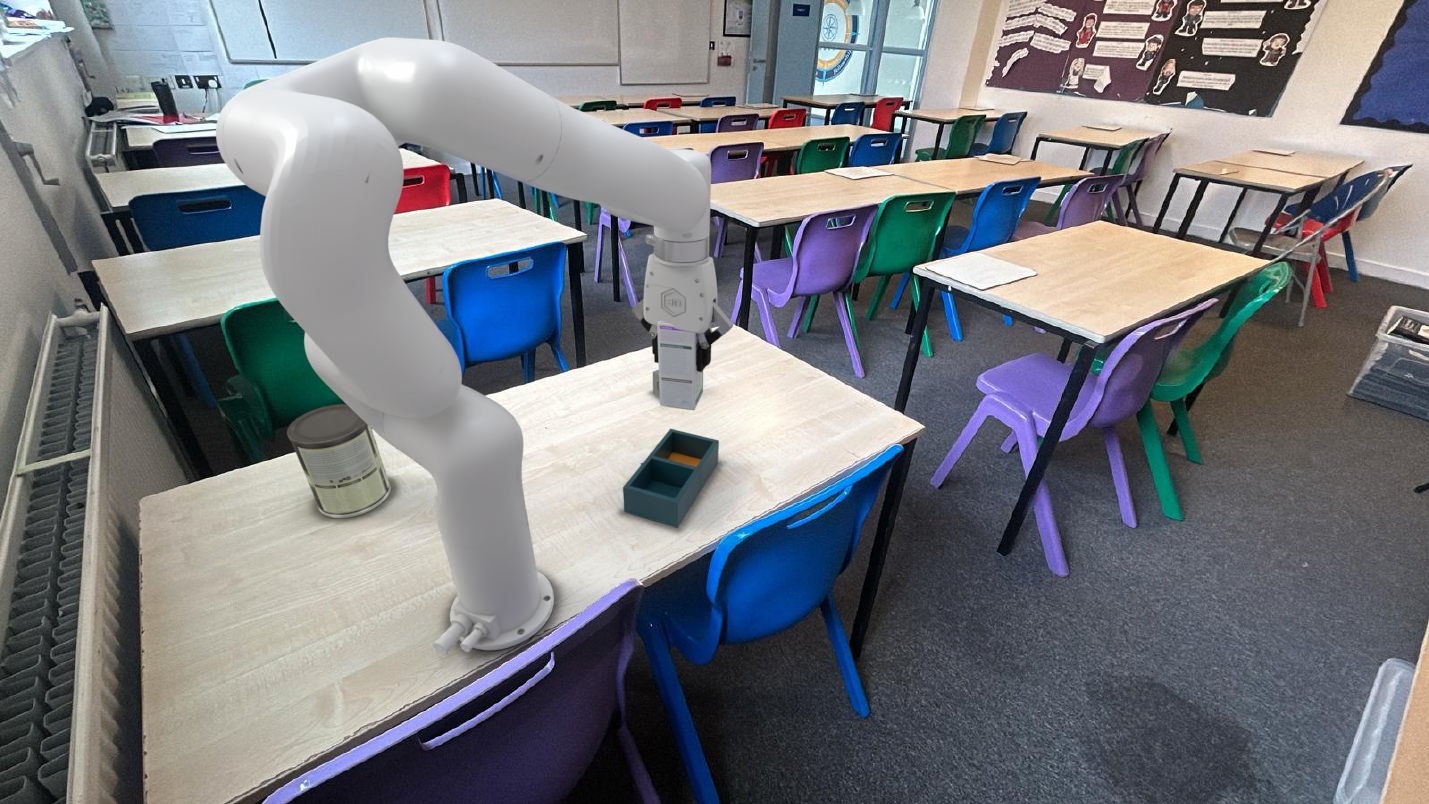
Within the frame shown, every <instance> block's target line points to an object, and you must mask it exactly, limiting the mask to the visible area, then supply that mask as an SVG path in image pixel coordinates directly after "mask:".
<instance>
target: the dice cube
mask: <svg viewBox="0 0 1429 804" xmlns="http://www.w3.org/2000/svg"><path fill="white" fill-rule="evenodd" d="M652 394H654V395H655V396H657V397H659V398H660V390H659V369H656V370H654V371H652Z"/></svg>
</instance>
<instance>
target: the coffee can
mask: <svg viewBox="0 0 1429 804" xmlns="http://www.w3.org/2000/svg"><path fill="white" fill-rule="evenodd" d="M286 435H287V438H288V440H289V441H290V442H291V444H292V447H293V449H294V452H295V454H296V457H297V459H298V461H299V463H300V466H301V468H302V470H303V473H304V476H305V478H306V480H307V482H308V485H309V488H310V490H311V493H312V495H313V497H314V499H315V502H316V504H317V509H318V511H319V512H320V513H321V514H322V515H324V516H325V517H329V518H331V519H347V518H354V517H357V516H360V515H361V516H362V515H364V514H366V513H368V512H370V511H373V510H374V509H376V508H378V507H379V506H380V505H382V504H383V503H384V502H385V501H386V500H387V499H388V497H389V496H390V494H391V490H392V486H391V483H390V481H389V478H388V475H387V471H386V469H385V465H384V462H383V459H382V457H381V453H380V450H379V447H378V444H377V440H376V437H375V435H374V430H373V429H372V428H371V427H370V426H369V425H368V424H367V423H366V422H365V421H363V420H362V419H361V418H360V417H359V416H358V415H357V414H356V413H355V412H354V411H353V410H352V409H351V408H350V407H349V406H348V405H347V404H346V403H339V404H338V403H337V404H332V405H326V406H322V407H319V408H315V409H313V410H310V411H308V412H306V413H303V414H302V415H300V416H299V417H297V418H296V419H294V420H293V421H292V422H291V423H290V424H289V426H288V428H287V430H286Z"/></svg>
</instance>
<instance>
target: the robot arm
mask: <svg viewBox="0 0 1429 804" xmlns="http://www.w3.org/2000/svg"><path fill="white" fill-rule="evenodd" d="M215 138H216V139H215V140H216V146H217V148H218V151H219V154H220V156H221V158H222V160H223V162H224V163H225V165H226V166H227V168H228V170H229V171H231V173H232V174H233V175H234V176H235V177H236V178H237V179H238V180H239V181H240V182H242V183H243V184H244V185H245V186H246V187H248V188H249V189H251V190H253V191H254V192H257V193H258V194H260V195H262V196H264V197H265V200H264V203H263V207H262V212H261V222H260V230H259V231H260V234H259V252H260V253H259V254H260V262H261V267H262V271H263V274H264V277H265V279H266V281H267V283H268V285H269V287H270V289H271V291H272V293H273V294H274V296H275V298H276V299H277V300H278V302H279V303H280V304H281V306H282V307H283V308H284V309H285V311H286V312H287V313H288V315H290V317H291V318H292V319H293V320H294V321H295V322H296V323H297V325H298V326H299V327H301V329H302V331H304V340H303V344H304V345H303V347H304V352H305V355H306V358H307V361H308V363H309V364H310V366H311V368H312V369H313V371H314V372H315V373H316V375H317V376H318V377H319V378H320V379H321V381H323V383H325V385H326V386H328V387H329V389H330V390H332V391H333V392H334V394H336V395H337V396H338V397H339V398H340V399H341V401H343V403H344V404H347V405H348V406H349V407H350V408H351V409H352V410H353V411H354V412H355V413H356V414H357V415H358V416H359V417H360V418H361V419H362V420H363V421H365V422H366V423H367V424H368V425H369V426H370V427H371V428H372V431H373V432H375V433H376V434H377V435H378V436H379V437H380V438H381V439H383V440H384V441H385V442H386V443H388V444H389V445H390V446H392V447H394V448H395V449H396V450H398V451H400V453H402V454H404V455H406V457H407V458H408V457H409V459H411V460H412V461H413V462H415V463H416V464H417V465H419V466H421V467H422V468H423V469H424V470H426V471H427V473H429V474H430V475H431V476H432V479H433V480H434V482H435V485H436V495H435V498H434V506H433V507H434V514H435V519H436V523H437V527H438V531H439V534H440V538H441V541H442V545H443V548H444V551H445V555H446V558H447V563H448V567H449V570H450V574H451V577H452V580H453V585H454V588H455V591H456V594H457V595H456V596H455V598H454V600H453V602H452V605H451V607H450V613H449V620H450V621H449V622H450V626H449V627H448V628H447V630H446V631H444V632H443V633H442V634H441V635H440V636H439V637H438V638H437V639H436V641H434V642H433V644H432V647H433V648H434V650H435V651H436V652H437V653H438V654H440V655H441V656H446V655H448V654H449V652H450V651H451V650H452V649H453V648H454V647H455V645H456V644H457V643H458V641H459V642H461V643H460V644H459V647H460V649H461V650H462V651H463V652H465V653H471V651H472V650H473V649H476V650H482V651H497V650H498V651H499V650H503V649H507V648H511V647H514V646H516V645H520V644H521V643H523V642H525V641H527V640H528V639H530V638H532V637H533V636H534V635H535V634H537V633H538V632H539V631H540V630H541V629H542V628H543V627H544V625H545V624H546V623H547V621H548V620H549V618H550V617H551V615H552V612H553V609H554V605H555V596H554V589H553V586H552V584H551V581H549V579H548V578H547V577H546V576H545V575H544V574H542V572H540V571H538V570H537V564H536V559H535V558H536V557H535V551H534V546H533V540H532V535H531V529H530V521H529V517H528V512H527V511H528V510H527V506H526V500H525V494H524V487H523V486H524V485H523V468H522V467H523V456H524V435H523V430H522V428H521V426H520V424H519V422H518V421H517V419H516V418H515V417H514V415H513V414H512V413H511V412H510V411H508V409H507V408H506V407H504V406H503V405H502V404H500V403H499V402H497V401H495V400H493V399H492V398H490V397H488V396H487V395H484V394H483V393H481V392H479V391H477V390H475V389H474V388H471V387H469V386H466V385H465V384H463V383H462V382H463V374H462V367H461V363H460V359H459V357H458V355H457V352H456V351H455V349H454V347H453V346H452V344H451V343H450V341H449V340H448V338H447V337H446V335H444V334H443V332H442V330H440V329H439V327H438V326H437V324H436V323H435V322H434V320H433V319H432V318H431V317H430V315H429V314H428V312H427V311H426V309H424V307H423V306H422V304H421V303H420V302H419V301H418V299H417V298H416V297H415V295H414V294H413V293H412V291H411V290H410V289H409V287H408V285H407V283H406V282H405V281H404V279H403V277H402V276H401V274H400V272H398V269H397V268H396V266H395V264H394V262H393V260H392V257H391V254H390V253H391V252H390V249H389V237H390V230H391V225H392V222H393V219H394V215H395V213H396V210H397V207H398V204H399V201H400V197H401V194H402V191H403V185H404V177H405V175H404V173H405V171H404V163H403V158H402V153H401V150H400V148H399V147H400V146H402V145H404V144H411V145H415V146H421V147H425V148H429V149H433V150H436V151H440V152H442V153H445V154H448V155H450V156H453V157H456V158H458V159H461V160H463V161H466V162H468V163H471V164H473V165H477V166H479V167H481V168H484V169H487V170H490V171H492V172H495V173H498V174H501V175H503V176H505V177H508V178H510V179H513V180H516V181H518V182H520V183H523V184H526V185H528V186H530V187H533V188H535V189H537V190H540V191H544V192H547V193H552V194H554V195H557V196H560V197H564V198H567V199H571V200H574V201H575V200H576V201H582V202H586V203H592V204H595V205H596V204H597V205H599V206H600V207H601V208H602V209H603V210H604V211H605V212H606V213H609V215H612V216H614V217H617V218H620V219H623V220H627V221H630V222H636V223H639V224H645V225H649V226H653V233H652V234H651V233H649V234H646V235H645V244H646V245H650V246H652V252H653V253H651V254H649V255H648V258H647V262H646V263H647V264H646V268H645V269H646V270H645V276H644V284H643V286H644V288H643V298H642V299H641V300H640V301H639V302H637V304H635V305H634V306H633V307H632V308H631V311H632V313H633V314H634V316H635V317H636V318H637V319H638V320H639V321H640V324H641V325H642V327H643V328H644V329H645V330H646V332H648V337H649V338H650V339H651V345H652V346H651V350H652V355H653V361H654V363H656V364H659V362H658V328H657V322H658V321H668V323H670V324H672V325H674V328H675V329H679V330H683V331H687V332H692V333H696V334H697V338H698V340H699V343H700V346H699V347H698V348H697V371H698V372H702V371H703V372H704V369H705V368H706V367H708V366H709V365H710V364H711V362H712V361H711V360H712V345H713V344H714V343H716V342H717V341H718V340H719V339H720V338H722V337H723V336H724V335H726V334H727V333H729V331H731V329H732V328H733V327H734V323H733V322H732V320H731V319H730V318H729V317H728V315H726V314H725V312H724V311H723V309H721V307H720V306H719V305H718V304H719V302H718V299H719V298H718V296H719V295H718V282H717V275H716V267H715V263H714V262H715V261H714V259H713V257H712V256H710V232H711V231H710V229H711V228H710V227H711V225H710V224H711V196H712V195H711V192H712V190H711V189H712V163H711V162H712V161H711V159H710V158H709V156H708V154H706V153H704V152H702V151H699V150H695V149H688V148H687V149H685V148H672V149H667V148H665V147H663V146H661V145H660V144H657V143H655V142H653V141H651V140H648V139H646V138H644V137H642V136H639V135H637V134H634V133H631V132H629V131H627V130H626V129H625V130H624V129H622V128H620V127H617V126H615V125H614V124H611V123H609V122H607V121H605V120H603V119H601V118H598V117H596V116H594V115H592V114H590V113H587V112H584V111H581V110H579V109H576V108H574V107H572V106H570V105H569V104H566V103H565V102H563V101H561V100H559V99H557V98H555V97H553V96H552V95H550V94H549V93H547V92H545V91H543V90H541V89H539V88H537V87H536V86H534V85H532V84H531V83H529V82H527V81H525V80H524V79H522V78H520V77H518V76H517V75H515V74H513V73H511V72H510V71H508V70H507V69H505V68H503V67H501V66H499V65H498V64H496V63H493V62H492V61H491V60H488V59H487V58H485V57H483V56H481V55H480V54H478V53H476V52H474V51H472V50H470V49H469V48H466V47H464V46H462V45H459V44H456V43H453V42H449V41H445V40H440V39H430V38H409V37H393V36H392V37H381V38H378V39H373V40H370V41H367V42H363V43H361V44H359V45H356V46H352V47H351V48H348V49H345V50H343V51H339V52H337V53H335V54H332V55H330V56H327V57H324V58H322V59H319V60H317V61H314V62H312V63H309V64H307V65H303V66H301V67H299V68H295V69H294V70H291V71H287V72H285V73H283V74H279V75H277V76H274V77H271V78H269V79H266V80H263V81H261V82H258V83H255V84H253V85H251V86H249V87H247V88H244V89H243V90H240V91H239V92H237V93H236V94H235V95H234V96H233V97H231V98H230V99H229V100H228V101H227V102H226V103H225V105H224V106H223V107H222V109H221V110H220V113H219V115H218V118H217V121H216V127H215ZM715 322H716V323H717V324H718V327H717V328H715V329H714V330H713V329H712V326H711V324H712V323H715Z"/></svg>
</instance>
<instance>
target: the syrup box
mask: <svg viewBox="0 0 1429 804" xmlns="http://www.w3.org/2000/svg"><path fill="white" fill-rule="evenodd" d="M657 328H658V362H659V363H658V370H659V390H660V397H659V405H660V407H661V406H662V407H665V408H672V409H677V410H678V409H679V410H687V411H695V410H696V408H697V406H698V405H699V403H700V400H701V398H702V395H703V393H704V370H703V371H702V372H698V371H697V348H698V347H699V346H700V343H699V340H698V338H697V334H696V333H692V332H687V331H683V330H679V329H675V328H674V325H672V324H670V323H668V321H658V322H657Z"/></svg>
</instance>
